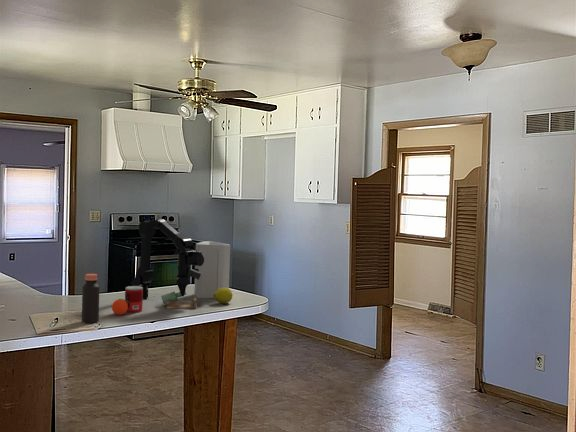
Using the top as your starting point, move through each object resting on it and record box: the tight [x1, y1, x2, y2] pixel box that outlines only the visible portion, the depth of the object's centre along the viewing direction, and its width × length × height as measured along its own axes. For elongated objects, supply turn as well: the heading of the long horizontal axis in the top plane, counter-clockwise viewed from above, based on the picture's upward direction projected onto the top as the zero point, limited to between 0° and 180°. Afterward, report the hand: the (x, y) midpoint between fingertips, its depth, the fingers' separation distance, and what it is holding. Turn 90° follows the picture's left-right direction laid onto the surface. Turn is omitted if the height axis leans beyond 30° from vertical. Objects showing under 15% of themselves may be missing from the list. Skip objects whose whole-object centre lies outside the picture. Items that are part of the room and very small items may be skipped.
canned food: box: [124, 285, 144, 314], centre depth 274 cm, size 8×8×11 cm
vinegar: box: [81, 273, 100, 324], centre depth 250 cm, size 7×7×20 cm
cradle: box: [165, 295, 198, 310], centre depth 290 cm, size 14×13×4 cm
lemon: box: [213, 288, 233, 305], centre depth 299 cm, size 11×8×8 cm
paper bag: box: [193, 240, 231, 299], centre depth 317 cm, size 19×15×28 cm
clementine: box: [111, 298, 129, 316], centre depth 266 cm, size 8×7×7 cm
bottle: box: [161, 290, 187, 305], centre depth 289 cm, size 4×4×12 cm
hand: (182, 295), depth 290 cm, fingers closed on bottle, 2 cm apart
